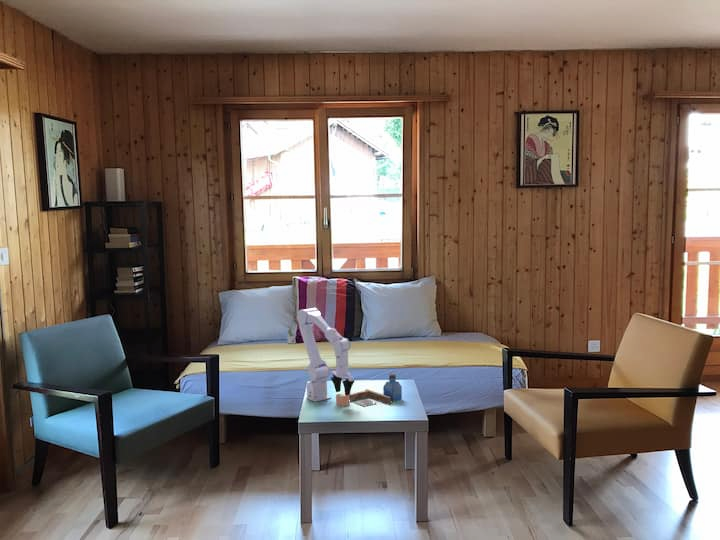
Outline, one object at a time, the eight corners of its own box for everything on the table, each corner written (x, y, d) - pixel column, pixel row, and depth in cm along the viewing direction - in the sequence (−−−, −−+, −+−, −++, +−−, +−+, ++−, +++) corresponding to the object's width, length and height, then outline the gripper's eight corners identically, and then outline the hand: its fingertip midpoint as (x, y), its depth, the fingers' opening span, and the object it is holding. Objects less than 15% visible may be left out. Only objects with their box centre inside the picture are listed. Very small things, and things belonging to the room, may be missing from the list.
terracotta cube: (341, 406, 288) (341, 396, 288) (336, 404, 292) (335, 394, 292) (349, 404, 291) (349, 394, 291) (343, 402, 295) (343, 392, 294)
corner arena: (369, 408, 284) (369, 402, 283) (346, 400, 298) (346, 394, 298) (390, 403, 291) (390, 397, 291) (367, 395, 306) (367, 389, 305)
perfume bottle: (392, 396, 302) (392, 372, 301) (401, 399, 298) (401, 374, 297) (383, 399, 298) (383, 375, 297) (392, 402, 293) (392, 377, 292)
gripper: (358, 366, 287) (358, 395, 288) (340, 361, 298) (340, 388, 299) (345, 368, 283) (346, 397, 284) (327, 363, 294) (328, 391, 295)
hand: (342, 393), depth 291 cm, fingers open, 7 cm apart
